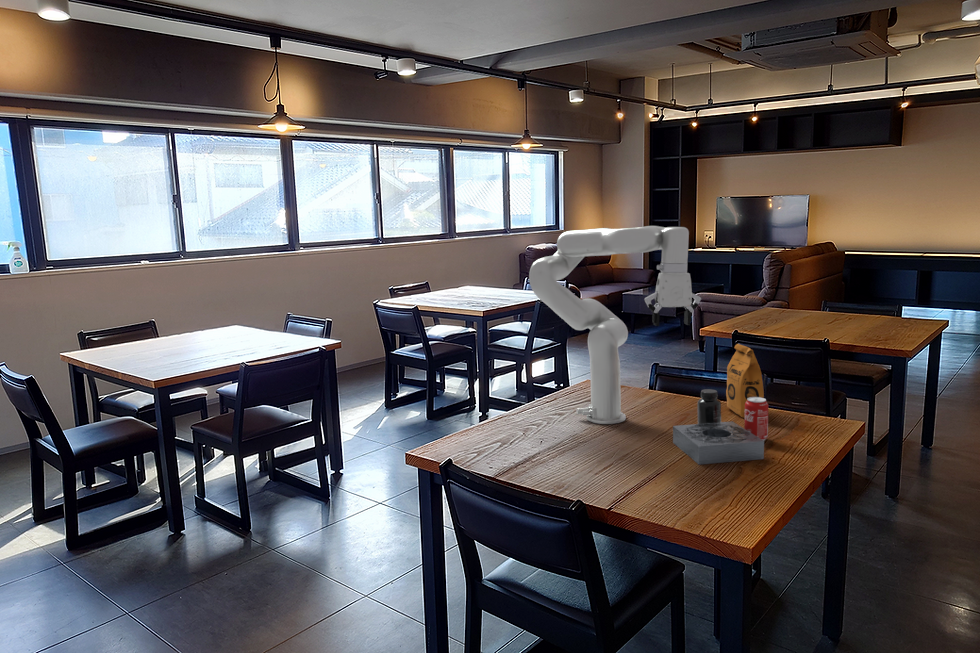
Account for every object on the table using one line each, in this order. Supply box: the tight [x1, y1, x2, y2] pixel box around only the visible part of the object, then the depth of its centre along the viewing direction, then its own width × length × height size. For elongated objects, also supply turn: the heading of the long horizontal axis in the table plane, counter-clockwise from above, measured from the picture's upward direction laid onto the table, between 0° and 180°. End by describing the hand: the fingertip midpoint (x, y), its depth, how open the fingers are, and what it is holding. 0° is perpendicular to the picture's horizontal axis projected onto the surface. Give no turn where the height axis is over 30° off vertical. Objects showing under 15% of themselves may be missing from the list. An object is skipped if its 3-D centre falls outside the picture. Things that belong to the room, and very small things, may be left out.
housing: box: [672, 420, 765, 466], centre depth 189 cm, size 18×18×5 cm
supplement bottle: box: [697, 388, 722, 424], centre depth 207 cm, size 7×7×12 cm
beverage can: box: [743, 397, 769, 442], centre depth 196 cm, size 6×6×12 cm
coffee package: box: [725, 343, 765, 419], centre depth 221 cm, size 10×12×22 cm
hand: (671, 325), depth 207 cm, fingers open, 9 cm apart
